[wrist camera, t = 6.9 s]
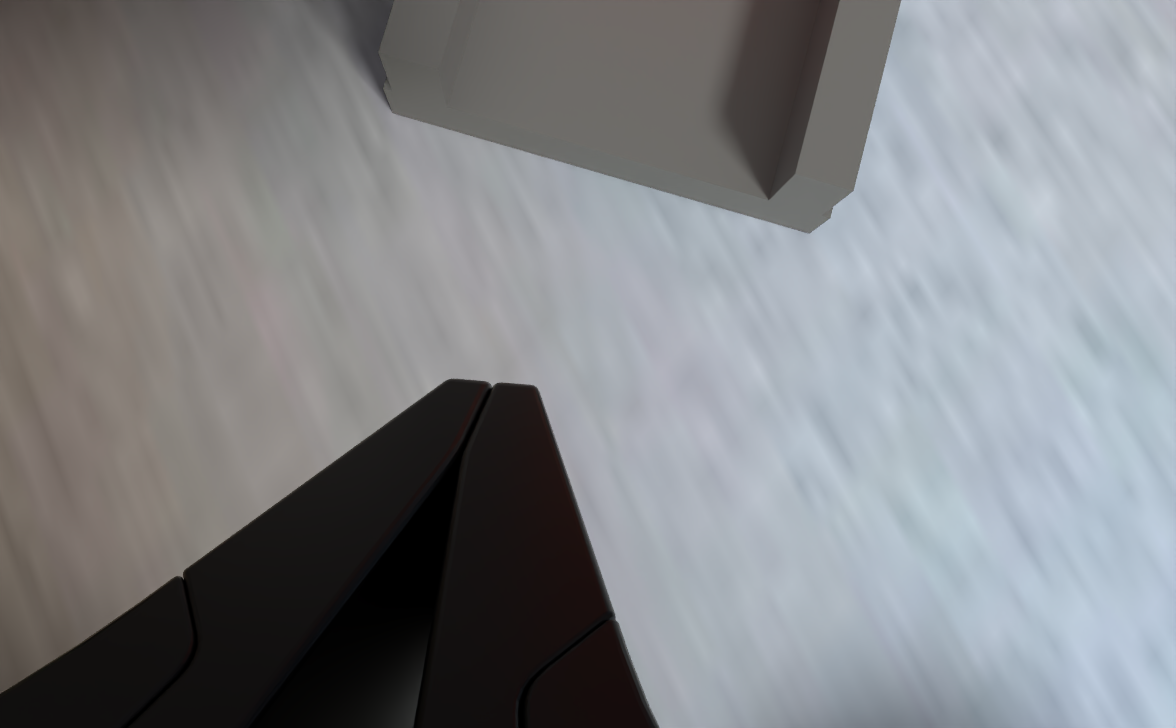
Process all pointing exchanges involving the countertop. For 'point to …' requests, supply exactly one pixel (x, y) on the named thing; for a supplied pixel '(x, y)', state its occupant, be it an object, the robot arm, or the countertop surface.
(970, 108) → the countertop surface
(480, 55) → the grey slotted holder tray
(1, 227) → the countertop surface
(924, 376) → the countertop surface
